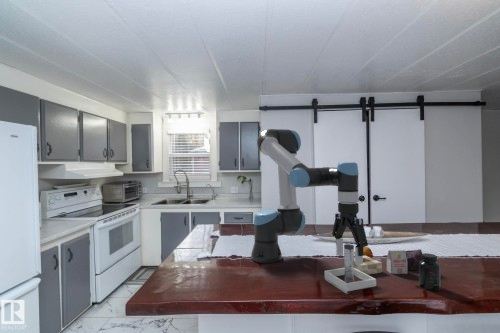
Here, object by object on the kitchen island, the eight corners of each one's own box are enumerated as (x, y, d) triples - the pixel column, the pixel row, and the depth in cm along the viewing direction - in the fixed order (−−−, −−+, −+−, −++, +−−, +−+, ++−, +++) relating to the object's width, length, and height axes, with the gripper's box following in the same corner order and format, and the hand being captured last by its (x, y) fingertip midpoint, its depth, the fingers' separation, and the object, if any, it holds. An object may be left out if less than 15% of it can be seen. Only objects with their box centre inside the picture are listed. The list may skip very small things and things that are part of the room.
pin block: (346, 269, 127) (346, 258, 127) (365, 266, 130) (365, 255, 130) (362, 277, 117) (362, 265, 117) (382, 274, 120) (381, 262, 120)
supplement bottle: (414, 284, 111) (414, 252, 111) (431, 283, 111) (431, 251, 111) (427, 291, 104) (426, 258, 104) (445, 290, 104) (444, 257, 104)
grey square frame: (324, 279, 116) (324, 270, 116) (351, 275, 120) (351, 266, 120) (346, 294, 103) (346, 284, 103) (376, 288, 107) (376, 279, 107)
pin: (342, 280, 113) (342, 244, 113) (350, 279, 114) (349, 243, 114) (348, 284, 109) (347, 247, 109) (356, 282, 111) (355, 246, 111)
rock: (394, 268, 130) (405, 276, 120) (391, 249, 130) (401, 256, 120) (421, 264, 130) (434, 272, 120) (417, 245, 130) (430, 251, 120)
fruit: (378, 261, 132) (369, 246, 133) (363, 269, 133) (353, 254, 134) (374, 256, 140) (365, 241, 140) (360, 263, 141) (351, 249, 142)
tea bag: (386, 272, 122) (386, 249, 122) (402, 272, 122) (402, 249, 122) (391, 276, 119) (390, 251, 118) (407, 276, 119) (407, 251, 118)
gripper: (378, 205, 102) (379, 268, 102) (338, 198, 124) (338, 249, 124) (360, 207, 99) (361, 271, 99) (322, 199, 121) (323, 251, 122)
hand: (349, 259), depth 112 cm, fingers open, 11 cm apart
